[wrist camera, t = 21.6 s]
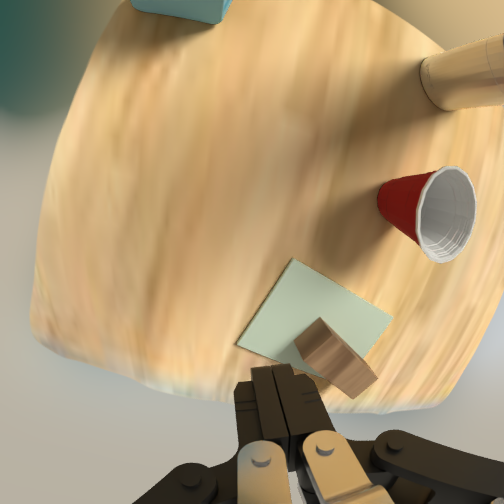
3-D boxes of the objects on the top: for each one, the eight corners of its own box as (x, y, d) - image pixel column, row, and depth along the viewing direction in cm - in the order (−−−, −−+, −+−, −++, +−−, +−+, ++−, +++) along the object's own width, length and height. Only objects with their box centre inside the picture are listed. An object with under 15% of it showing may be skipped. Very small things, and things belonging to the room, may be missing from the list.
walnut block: (303, 360, 35) (352, 399, 39) (332, 334, 35) (378, 378, 39) (293, 340, 40) (341, 380, 44) (319, 316, 40) (364, 360, 44)
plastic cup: (402, 251, 40) (456, 279, 28) (348, 217, 37) (401, 239, 26) (432, 187, 38) (490, 198, 26) (382, 147, 35) (441, 144, 24)
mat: (236, 342, 40) (237, 344, 39) (292, 257, 37) (293, 258, 37) (340, 382, 45) (341, 384, 44) (391, 315, 43) (393, 317, 42)
